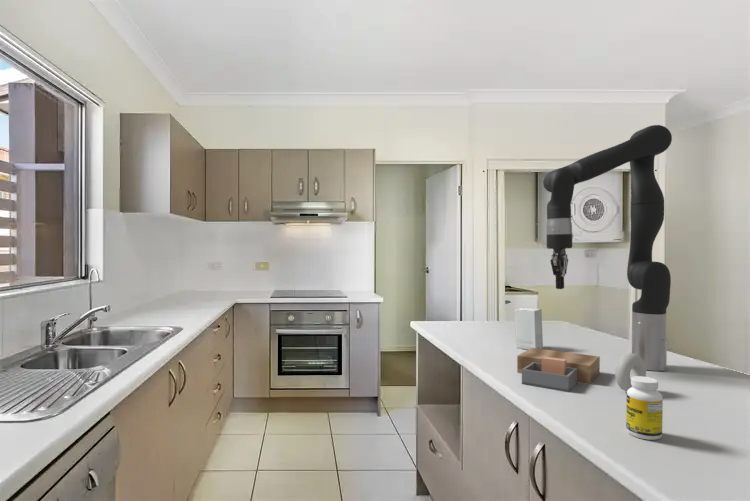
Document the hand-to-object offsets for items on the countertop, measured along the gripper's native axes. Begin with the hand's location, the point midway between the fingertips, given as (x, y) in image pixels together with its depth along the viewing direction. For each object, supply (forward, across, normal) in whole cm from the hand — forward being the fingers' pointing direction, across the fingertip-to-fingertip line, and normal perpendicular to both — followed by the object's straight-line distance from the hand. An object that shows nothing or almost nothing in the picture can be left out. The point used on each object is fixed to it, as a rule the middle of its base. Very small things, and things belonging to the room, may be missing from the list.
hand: (560, 288), depth 144 cm
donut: (+25, -16, -21) cm, 36 cm away
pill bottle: (+24, -46, -26) cm, 58 cm away
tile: (+21, -18, -2) cm, 27 cm away
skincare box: (+25, +22, +16) cm, 37 cm away
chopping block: (+24, -8, -1) cm, 26 cm away
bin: (+24, -20, -2) cm, 32 cm away
